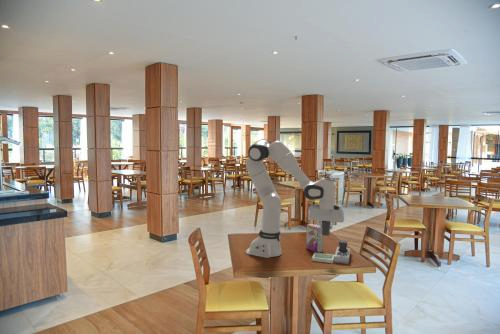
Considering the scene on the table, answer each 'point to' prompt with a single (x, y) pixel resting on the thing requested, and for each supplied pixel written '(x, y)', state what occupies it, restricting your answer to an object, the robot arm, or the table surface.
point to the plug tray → (323, 257)
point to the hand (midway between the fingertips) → (326, 228)
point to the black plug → (326, 228)
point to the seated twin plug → (343, 245)
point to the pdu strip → (342, 256)
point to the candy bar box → (314, 238)
